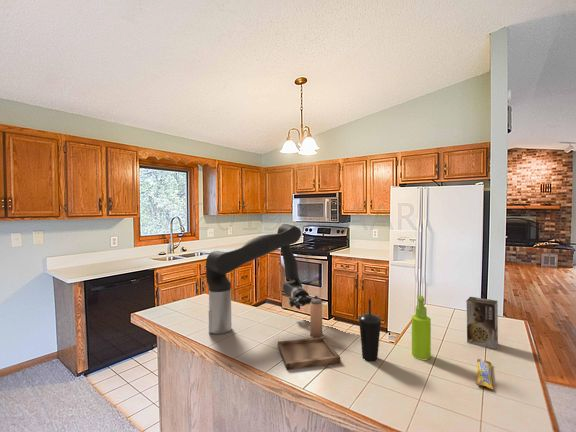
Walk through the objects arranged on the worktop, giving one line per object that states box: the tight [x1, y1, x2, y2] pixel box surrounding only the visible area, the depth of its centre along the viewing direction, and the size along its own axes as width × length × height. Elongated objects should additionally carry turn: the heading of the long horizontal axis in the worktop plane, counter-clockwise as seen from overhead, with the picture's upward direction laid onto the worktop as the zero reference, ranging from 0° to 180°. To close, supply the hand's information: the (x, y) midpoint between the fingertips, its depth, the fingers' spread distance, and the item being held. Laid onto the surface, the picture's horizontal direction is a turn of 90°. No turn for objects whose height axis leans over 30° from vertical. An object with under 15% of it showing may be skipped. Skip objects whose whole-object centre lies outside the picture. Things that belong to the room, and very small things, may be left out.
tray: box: [277, 336, 341, 371], centre depth 102 cm, size 18×16×2 cm
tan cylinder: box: [309, 298, 323, 338], centre depth 118 cm, size 5×5×14 cm
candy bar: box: [474, 358, 494, 390], centre depth 88 cm, size 17×4×2 cm, turn 146°
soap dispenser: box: [411, 295, 432, 360], centre depth 100 cm, size 6×7×20 cm
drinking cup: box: [357, 298, 382, 362], centre depth 99 cm, size 8×8×20 cm
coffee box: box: [465, 296, 499, 350], centre depth 109 cm, size 9×6×16 cm
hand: (308, 306), depth 129 cm, fingers open, 8 cm apart
